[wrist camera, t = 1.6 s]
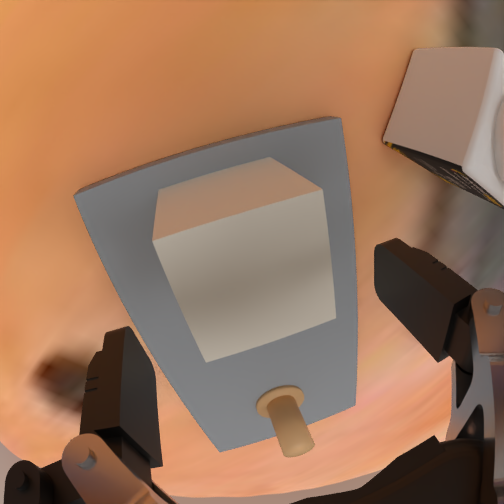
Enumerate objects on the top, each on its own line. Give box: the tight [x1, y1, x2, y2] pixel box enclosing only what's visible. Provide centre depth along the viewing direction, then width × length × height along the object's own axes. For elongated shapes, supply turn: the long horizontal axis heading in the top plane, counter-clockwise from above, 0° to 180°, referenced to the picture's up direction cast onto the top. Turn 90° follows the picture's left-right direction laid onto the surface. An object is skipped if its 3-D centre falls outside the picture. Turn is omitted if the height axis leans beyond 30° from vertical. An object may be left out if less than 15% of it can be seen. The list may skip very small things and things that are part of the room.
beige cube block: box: [152, 157, 336, 363], centre depth 14 cm, size 6×6×6 cm
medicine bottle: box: [383, 47, 504, 209], centre depth 12 cm, size 7×7×12 cm
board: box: [74, 116, 358, 457], centre depth 19 cm, size 14×26×6 cm, turn 13°
